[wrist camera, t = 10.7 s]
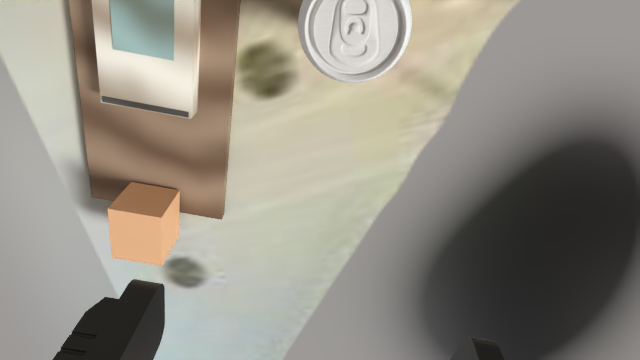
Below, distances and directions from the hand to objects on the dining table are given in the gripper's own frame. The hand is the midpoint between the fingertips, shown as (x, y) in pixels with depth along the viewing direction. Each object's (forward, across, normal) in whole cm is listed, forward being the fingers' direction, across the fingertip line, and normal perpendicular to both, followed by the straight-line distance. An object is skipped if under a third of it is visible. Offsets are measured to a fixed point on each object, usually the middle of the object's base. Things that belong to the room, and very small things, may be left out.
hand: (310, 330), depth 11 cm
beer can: (+30, 0, -5) cm, 30 cm away
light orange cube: (+28, +15, +19) cm, 37 cm away
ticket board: (+30, +15, +4) cm, 34 cm away
